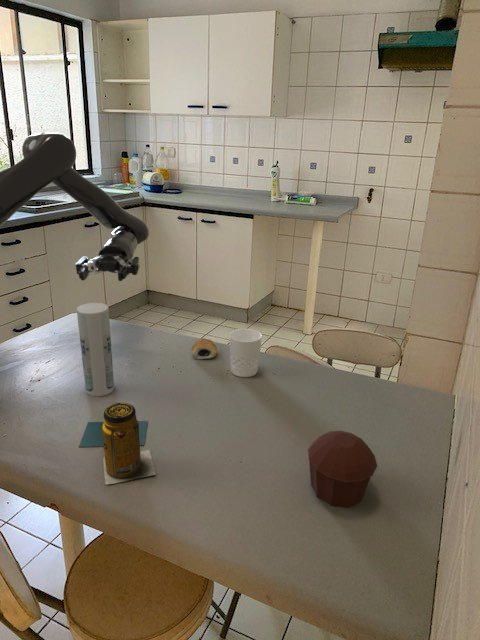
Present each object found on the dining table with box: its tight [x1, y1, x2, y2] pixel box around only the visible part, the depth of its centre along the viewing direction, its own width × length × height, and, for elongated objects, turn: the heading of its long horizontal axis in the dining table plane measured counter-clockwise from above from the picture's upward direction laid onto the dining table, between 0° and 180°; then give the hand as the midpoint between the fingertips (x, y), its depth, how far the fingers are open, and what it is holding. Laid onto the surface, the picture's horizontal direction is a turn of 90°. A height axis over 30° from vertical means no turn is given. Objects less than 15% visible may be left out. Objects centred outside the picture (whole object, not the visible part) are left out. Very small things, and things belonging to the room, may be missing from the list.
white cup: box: [229, 328, 263, 378], centre depth 115 cm, size 8×8×10 cm
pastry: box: [191, 337, 218, 360], centre depth 125 cm, size 9×7×4 cm
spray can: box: [76, 302, 115, 397], centre depth 102 cm, size 6×6×20 cm
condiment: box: [102, 402, 157, 486], centre depth 80 cm, size 7×8×12 cm
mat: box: [78, 420, 149, 448], centre depth 91 cm, size 12×8×1 cm, turn 95°
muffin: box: [307, 430, 378, 508], centre depth 77 cm, size 12×11×10 cm
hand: (100, 276), depth 105 cm, fingers open, 8 cm apart
